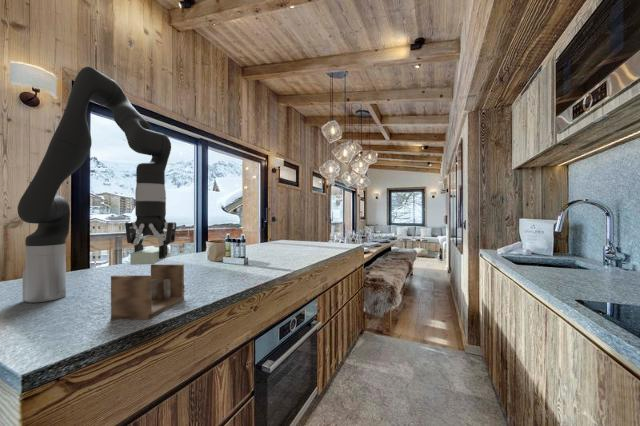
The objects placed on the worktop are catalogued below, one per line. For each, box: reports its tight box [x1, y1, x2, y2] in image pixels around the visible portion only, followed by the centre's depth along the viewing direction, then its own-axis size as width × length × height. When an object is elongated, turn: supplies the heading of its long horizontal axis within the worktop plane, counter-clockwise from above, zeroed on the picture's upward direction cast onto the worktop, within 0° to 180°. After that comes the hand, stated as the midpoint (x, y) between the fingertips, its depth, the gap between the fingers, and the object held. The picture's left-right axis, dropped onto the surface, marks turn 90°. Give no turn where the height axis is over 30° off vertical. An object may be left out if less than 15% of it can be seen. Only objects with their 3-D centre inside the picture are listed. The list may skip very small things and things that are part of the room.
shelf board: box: [129, 246, 170, 266], centre depth 81 cm, size 6×12×3 cm, turn 10°
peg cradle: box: [110, 263, 185, 320], centre depth 81 cm, size 10×17×11 cm, turn 178°
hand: (151, 258), depth 81 cm, fingers closed on shelf board, 6 cm apart
